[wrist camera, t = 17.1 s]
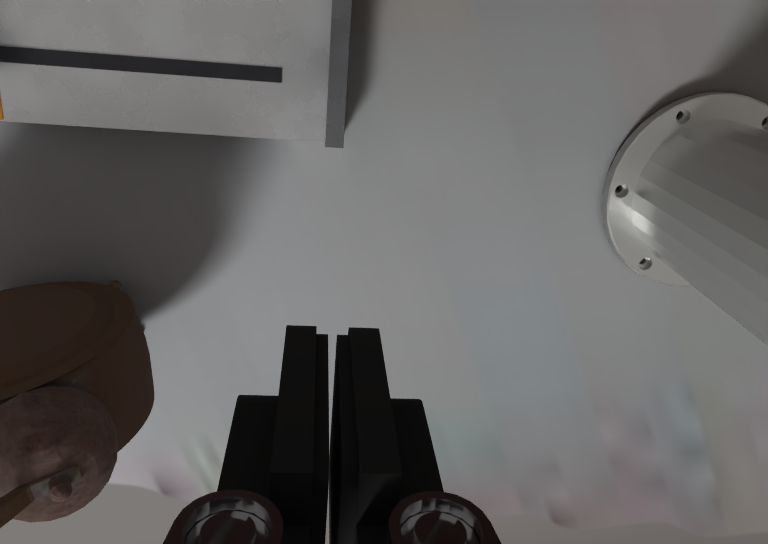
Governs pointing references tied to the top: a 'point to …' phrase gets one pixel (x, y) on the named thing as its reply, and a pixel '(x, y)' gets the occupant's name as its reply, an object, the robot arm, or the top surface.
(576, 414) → the top surface
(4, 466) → the alarm clock
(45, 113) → the console
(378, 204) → the top surface
